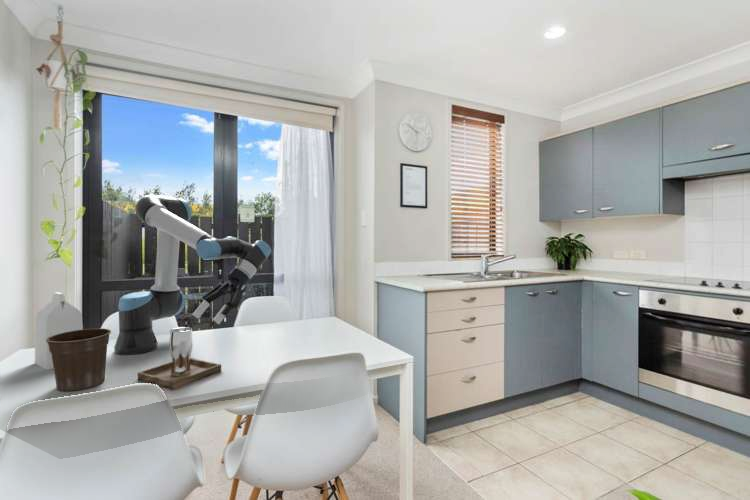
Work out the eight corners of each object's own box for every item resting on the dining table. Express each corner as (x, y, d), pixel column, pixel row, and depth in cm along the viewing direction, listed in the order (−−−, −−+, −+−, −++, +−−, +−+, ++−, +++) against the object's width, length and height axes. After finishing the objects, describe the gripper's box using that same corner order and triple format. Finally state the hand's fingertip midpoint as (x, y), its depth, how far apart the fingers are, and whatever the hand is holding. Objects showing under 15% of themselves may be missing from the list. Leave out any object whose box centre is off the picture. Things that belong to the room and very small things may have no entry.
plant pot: (34, 389, 114) (33, 338, 114) (91, 372, 129) (90, 326, 129) (68, 398, 108) (67, 344, 108) (123, 378, 124) (122, 330, 123)
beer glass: (182, 377, 123) (183, 332, 122) (164, 375, 124) (164, 331, 124) (196, 370, 130) (197, 327, 129) (179, 368, 131) (179, 326, 130)
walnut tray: (137, 380, 122) (137, 372, 122) (186, 363, 139) (186, 356, 138) (174, 390, 115) (174, 382, 114) (221, 371, 131) (221, 364, 131)
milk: (85, 360, 141) (84, 292, 140) (46, 369, 131) (44, 296, 130) (72, 354, 147) (71, 289, 146) (34, 363, 137) (32, 293, 136)
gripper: (268, 282, 139) (232, 330, 128) (229, 277, 154) (194, 320, 142) (256, 269, 134) (217, 318, 123) (217, 265, 149) (180, 308, 138)
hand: (205, 319), depth 133 cm, fingers open, 13 cm apart
